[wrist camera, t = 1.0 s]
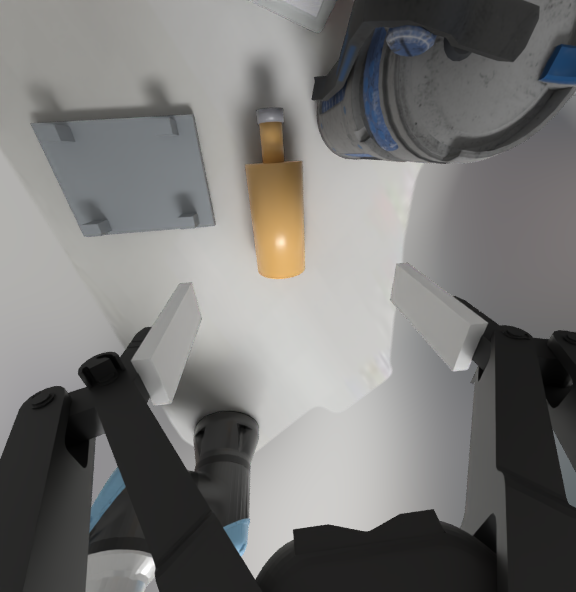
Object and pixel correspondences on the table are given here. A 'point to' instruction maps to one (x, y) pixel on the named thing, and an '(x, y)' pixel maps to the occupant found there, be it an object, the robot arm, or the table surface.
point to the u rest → (129, 173)
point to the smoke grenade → (446, 78)
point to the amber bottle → (276, 202)
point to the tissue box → (301, 11)
